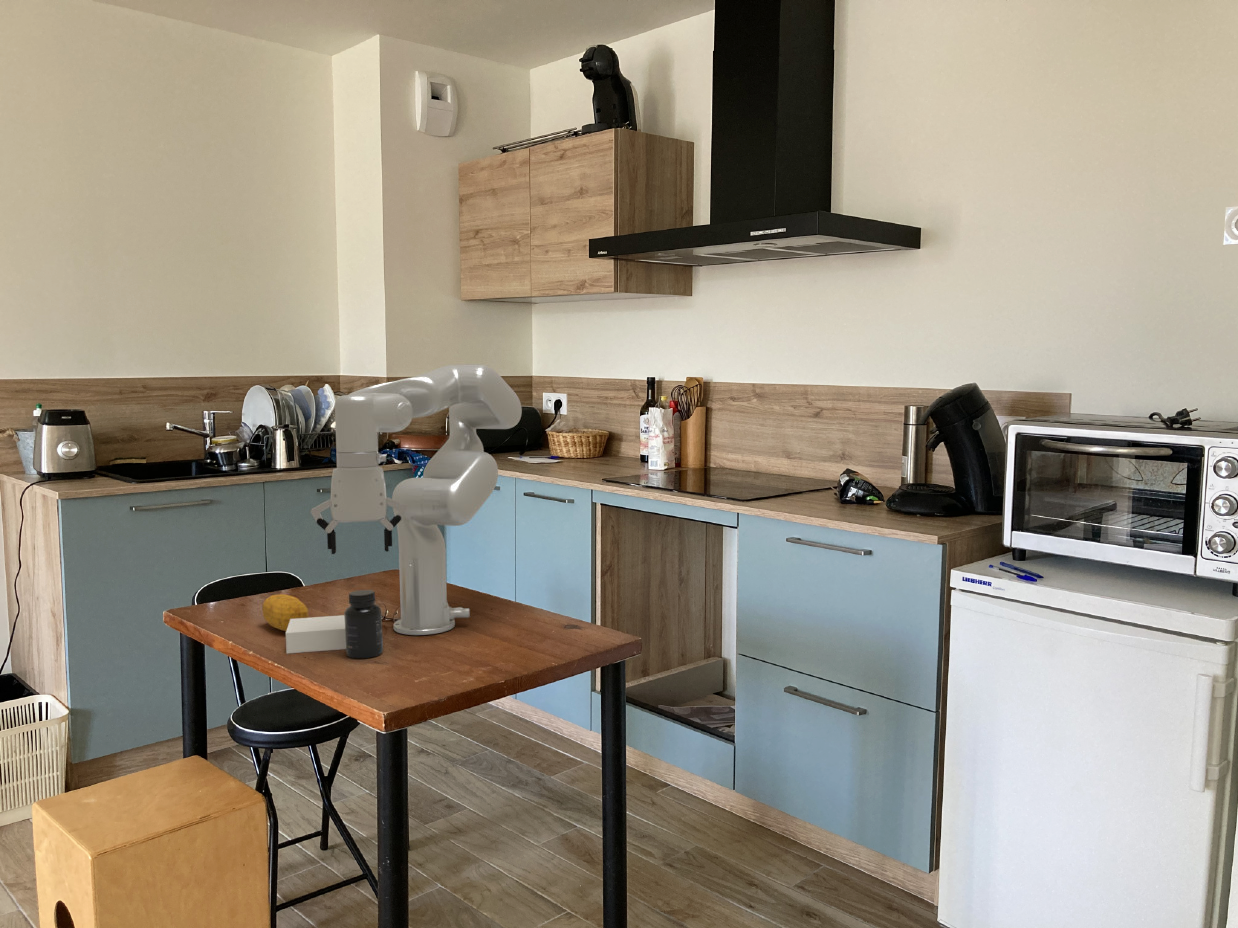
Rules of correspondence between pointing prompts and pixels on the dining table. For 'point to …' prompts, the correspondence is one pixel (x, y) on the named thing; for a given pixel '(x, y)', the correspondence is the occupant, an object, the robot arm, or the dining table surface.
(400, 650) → the dining table surface
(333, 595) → the dining table surface
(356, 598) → the supplement bottle
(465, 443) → the robot arm
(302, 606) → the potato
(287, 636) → the stand
